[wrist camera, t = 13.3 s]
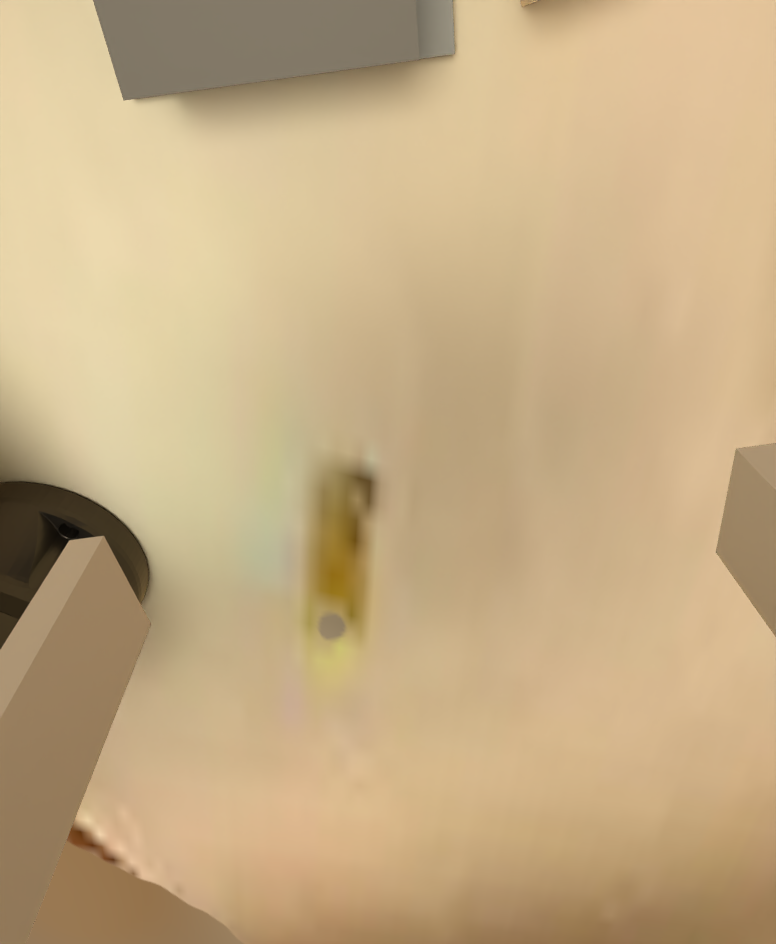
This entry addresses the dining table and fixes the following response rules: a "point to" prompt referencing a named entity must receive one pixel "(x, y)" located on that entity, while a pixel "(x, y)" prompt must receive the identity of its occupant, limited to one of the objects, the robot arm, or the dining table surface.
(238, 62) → the rail board
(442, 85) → the dining table surface
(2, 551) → the robot arm
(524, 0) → the block
